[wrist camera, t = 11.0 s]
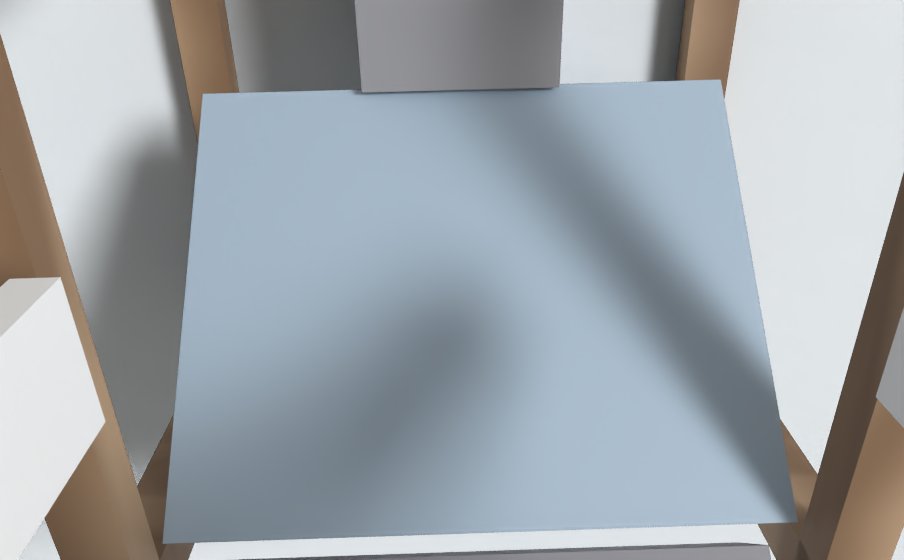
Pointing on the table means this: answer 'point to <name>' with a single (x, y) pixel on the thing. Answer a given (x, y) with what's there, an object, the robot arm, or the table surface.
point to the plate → (473, 322)
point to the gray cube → (458, 44)
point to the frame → (106, 461)
